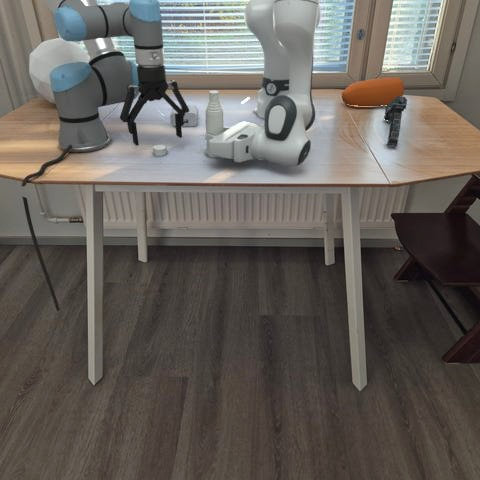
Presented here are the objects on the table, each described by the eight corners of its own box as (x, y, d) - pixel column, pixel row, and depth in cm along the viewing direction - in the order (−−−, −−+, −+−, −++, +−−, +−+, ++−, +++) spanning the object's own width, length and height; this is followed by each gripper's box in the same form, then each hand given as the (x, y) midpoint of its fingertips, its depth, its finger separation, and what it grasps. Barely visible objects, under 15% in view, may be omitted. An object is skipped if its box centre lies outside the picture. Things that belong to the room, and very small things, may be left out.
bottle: (207, 157, 122) (205, 94, 111) (206, 151, 126) (204, 89, 115) (224, 157, 122) (223, 93, 112) (222, 150, 126) (221, 88, 116)
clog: (345, 115, 162) (406, 107, 163) (347, 87, 156) (410, 79, 157) (336, 106, 172) (394, 98, 173) (337, 80, 166) (397, 72, 167)
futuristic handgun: (389, 146, 153) (397, 104, 149) (399, 145, 125) (409, 94, 122) (379, 144, 154) (386, 103, 150) (386, 144, 126) (395, 93, 122)
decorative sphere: (40, 71, 170) (16, 23, 147) (101, 69, 175) (88, 22, 151) (40, 120, 164) (15, 77, 140) (104, 116, 168) (91, 75, 144)
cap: (165, 150, 126) (164, 144, 125) (167, 155, 123) (166, 148, 122) (152, 151, 125) (152, 145, 124) (154, 156, 122) (154, 150, 121)
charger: (199, 113, 156) (197, 126, 144) (175, 113, 156) (171, 126, 143) (198, 100, 153) (196, 113, 141) (174, 100, 153) (170, 113, 141)
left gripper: (108, 72, 101) (120, 152, 114) (198, 63, 112) (201, 137, 124) (100, 66, 107) (113, 143, 119) (187, 57, 117) (190, 129, 130)
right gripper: (269, 120, 121) (229, 113, 126) (236, 142, 106) (192, 132, 111) (268, 141, 124) (229, 132, 130) (235, 164, 110) (193, 154, 115)
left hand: (158, 140), depth 122 cm, fingers open, 13 cm apart
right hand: (212, 133), depth 120 cm, fingers closed on bottle, 5 cm apart
